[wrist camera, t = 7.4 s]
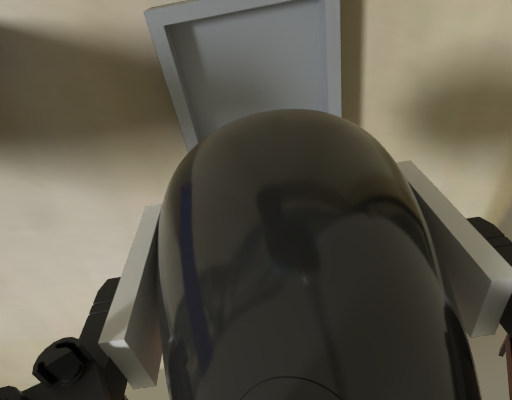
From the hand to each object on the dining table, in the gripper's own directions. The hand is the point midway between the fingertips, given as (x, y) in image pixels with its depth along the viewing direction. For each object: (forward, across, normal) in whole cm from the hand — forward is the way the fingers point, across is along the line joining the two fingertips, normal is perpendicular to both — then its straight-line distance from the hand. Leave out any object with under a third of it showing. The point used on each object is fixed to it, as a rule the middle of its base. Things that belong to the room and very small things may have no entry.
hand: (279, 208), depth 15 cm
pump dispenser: (+3, 0, 0) cm, 3 cm away
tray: (+21, 0, 0) cm, 21 cm away
